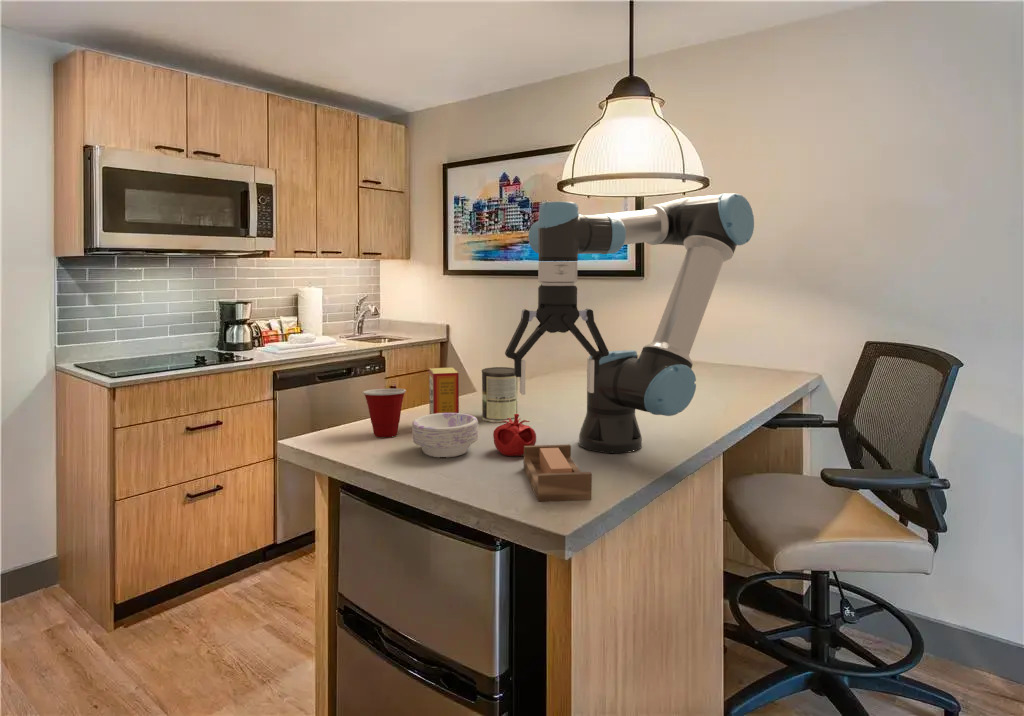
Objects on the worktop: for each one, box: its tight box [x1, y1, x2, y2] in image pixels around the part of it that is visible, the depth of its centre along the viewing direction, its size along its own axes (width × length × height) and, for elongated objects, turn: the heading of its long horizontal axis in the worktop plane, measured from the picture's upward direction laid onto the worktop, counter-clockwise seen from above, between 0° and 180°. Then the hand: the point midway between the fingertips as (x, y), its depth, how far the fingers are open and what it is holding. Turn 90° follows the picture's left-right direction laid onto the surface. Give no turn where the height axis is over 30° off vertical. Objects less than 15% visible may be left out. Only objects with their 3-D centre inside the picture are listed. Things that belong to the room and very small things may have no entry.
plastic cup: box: [362, 388, 407, 438], centre depth 165 cm, size 11×11×12 cm
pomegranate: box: [492, 413, 537, 457], centre depth 151 cm, size 10×10×9 cm
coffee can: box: [481, 366, 519, 424], centre depth 184 cm, size 10×10×14 cm
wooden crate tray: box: [523, 444, 593, 503], centre depth 130 cm, size 20×10×5 cm, turn 7°
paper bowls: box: [411, 412, 479, 458], centre depth 151 cm, size 15×15×8 cm
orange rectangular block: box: [539, 448, 572, 473], centre depth 130 cm, size 14×4×4 cm, turn 7°
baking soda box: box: [428, 367, 460, 415], centre depth 173 cm, size 10×6×16 cm
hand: (556, 392), depth 128 cm, fingers open, 13 cm apart
